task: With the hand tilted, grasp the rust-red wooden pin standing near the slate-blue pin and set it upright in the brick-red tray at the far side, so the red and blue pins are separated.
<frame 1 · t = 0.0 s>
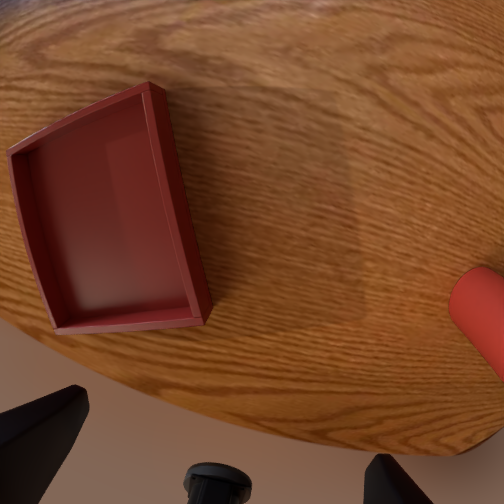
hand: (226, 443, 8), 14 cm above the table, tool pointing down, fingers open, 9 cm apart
red tray: (104, 220, 21), on the table
red pin: (475, 298, 20), on the table
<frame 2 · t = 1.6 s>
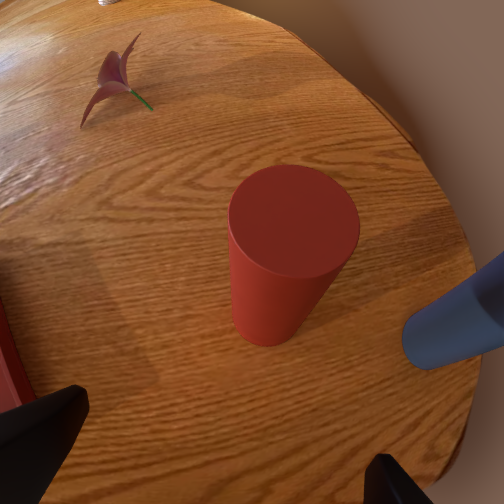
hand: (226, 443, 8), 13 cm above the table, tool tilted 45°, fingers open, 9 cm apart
blue pin: (427, 340, 23), on the table
lily: (121, 110, 34), on the table
red pin: (266, 313, 23), on the table
cup: (111, 2, 56), on the table
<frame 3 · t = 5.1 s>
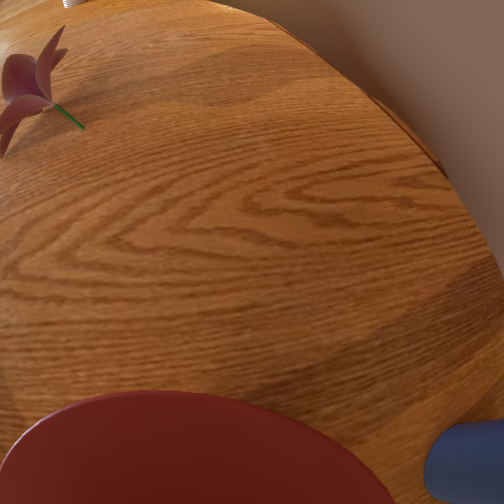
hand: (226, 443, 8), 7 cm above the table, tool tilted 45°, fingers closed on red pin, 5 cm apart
blue pin: (457, 462, 12), on the table
lily: (50, 131, 24), on the table
red pin: (223, 455, 13), on the table, touching gripper
cup: (77, 3, 47), on the table
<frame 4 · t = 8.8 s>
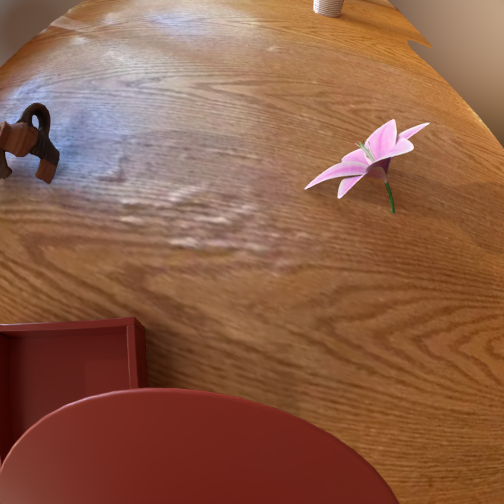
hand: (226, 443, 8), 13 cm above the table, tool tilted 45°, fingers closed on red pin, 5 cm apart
red tray: (72, 425, 19), on the table
lily: (357, 190, 30), on the table
red pin: (224, 455, 13), point 7 cm above the table, touching gripper
cup: (326, 13, 56), on the table
brown irregular piece: (31, 169, 30), on the table
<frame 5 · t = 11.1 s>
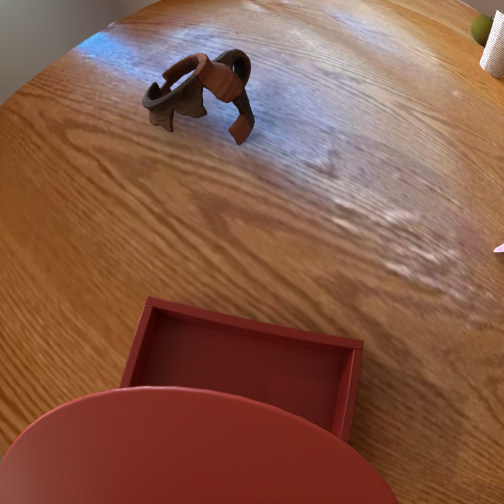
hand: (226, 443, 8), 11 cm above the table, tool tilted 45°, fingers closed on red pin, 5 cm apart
red tray: (227, 444, 17), on the table
apple: (480, 43, 60), on the table
red pin: (224, 455, 13), point 4 cm above the table, touching gripper
cup: (489, 71, 48), on the table
brown irregular piece: (210, 119, 30), on the table
when the fingers open (7 cm above the table, at t = 12.7 s): red pin stays where it is, resting on red tray.
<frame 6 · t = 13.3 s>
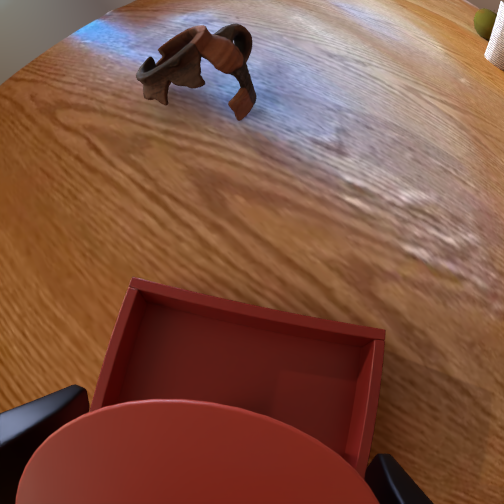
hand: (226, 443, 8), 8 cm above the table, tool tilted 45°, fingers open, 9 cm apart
red tray: (225, 454, 14), on the table
apple: (483, 37, 57), on the table
red pin: (224, 455, 14), point 1 cm above the table, touching red tray
cup: (494, 63, 45), on the table
brown irregular piece: (208, 96, 28), on the table
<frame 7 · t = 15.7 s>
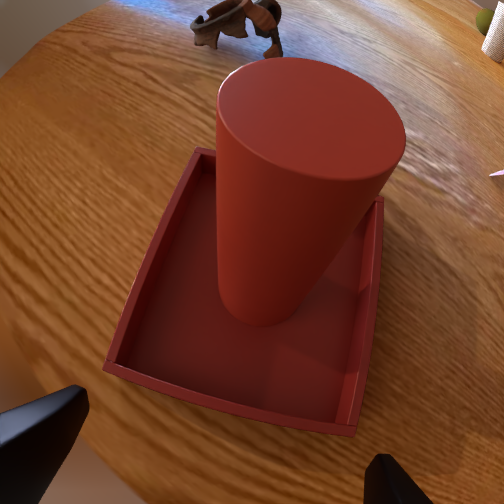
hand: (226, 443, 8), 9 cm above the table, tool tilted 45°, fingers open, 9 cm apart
red tray: (260, 288, 20), on the table
apple: (484, 34, 61), on the table
red pin: (260, 285, 19), point 1 cm above the table, touching red tray
cup: (490, 56, 50), on the table
brown irregular piece: (244, 51, 32), on the table
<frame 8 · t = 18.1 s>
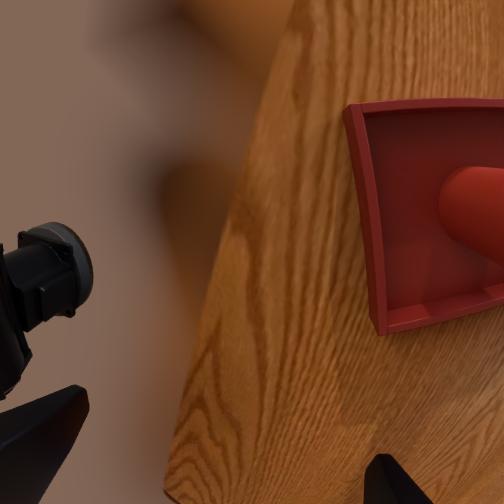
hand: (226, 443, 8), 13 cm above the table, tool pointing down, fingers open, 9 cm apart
red tray: (465, 203, 17), on the table
red pin: (469, 204, 17), point 1 cm above the table, touching red tray
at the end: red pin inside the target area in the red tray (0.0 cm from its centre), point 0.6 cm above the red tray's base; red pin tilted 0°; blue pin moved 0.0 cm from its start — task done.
